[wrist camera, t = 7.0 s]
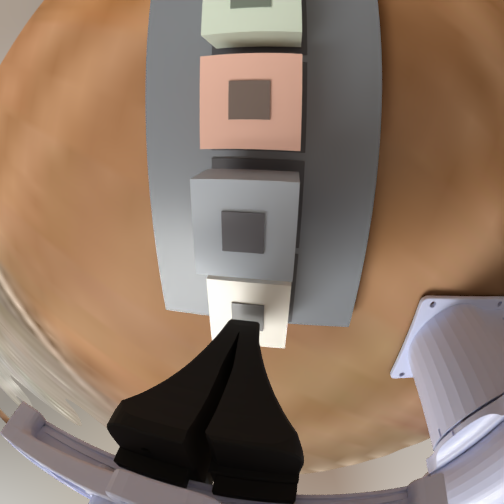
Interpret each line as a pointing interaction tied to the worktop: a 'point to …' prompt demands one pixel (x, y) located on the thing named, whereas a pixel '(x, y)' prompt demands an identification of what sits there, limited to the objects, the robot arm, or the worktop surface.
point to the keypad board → (273, 151)
